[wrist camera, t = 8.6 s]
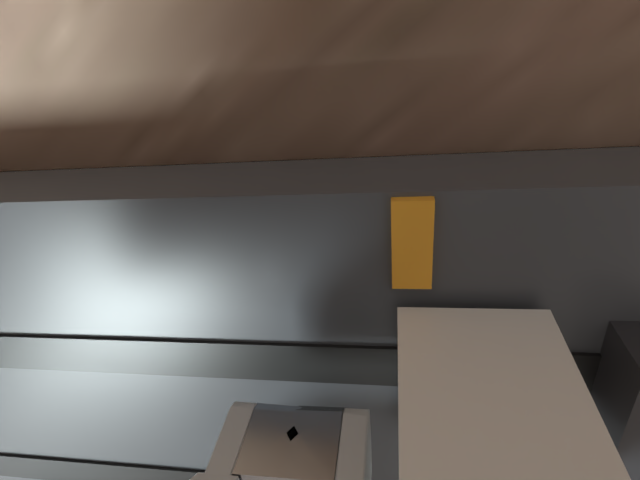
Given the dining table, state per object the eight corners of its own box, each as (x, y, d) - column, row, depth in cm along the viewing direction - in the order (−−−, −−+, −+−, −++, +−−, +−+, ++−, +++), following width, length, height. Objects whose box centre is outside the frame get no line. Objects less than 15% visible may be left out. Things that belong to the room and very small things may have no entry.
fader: (397, 306, 9) (399, 508, 6) (550, 309, 9) (656, 531, 5) (398, 430, 11) (399, 637, 8) (523, 439, 11) (587, 663, 7)
